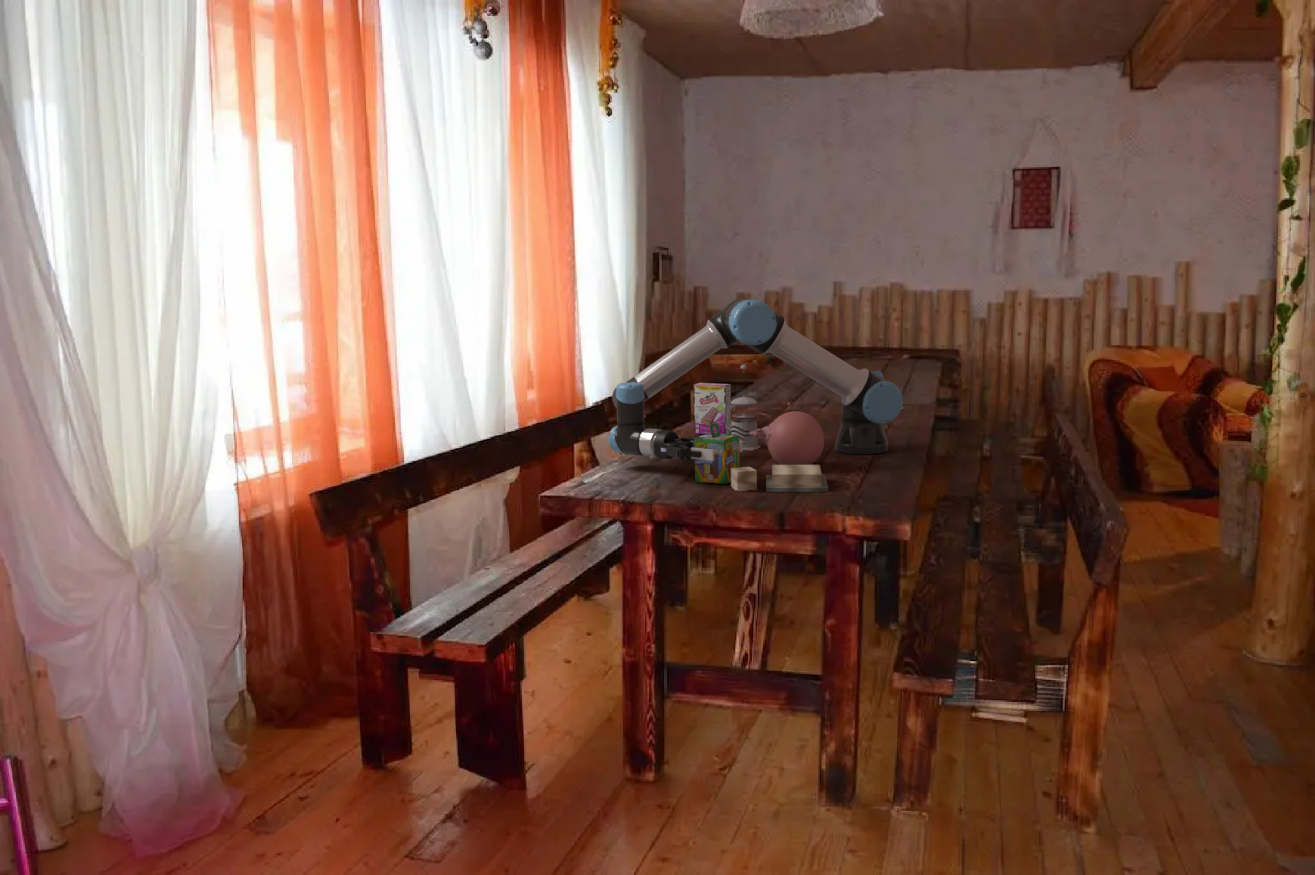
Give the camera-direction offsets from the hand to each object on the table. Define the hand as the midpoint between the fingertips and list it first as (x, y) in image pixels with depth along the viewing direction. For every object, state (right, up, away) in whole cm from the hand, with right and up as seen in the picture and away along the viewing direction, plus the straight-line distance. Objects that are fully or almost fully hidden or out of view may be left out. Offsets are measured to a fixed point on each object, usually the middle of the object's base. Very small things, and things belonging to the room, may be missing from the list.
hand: (728, 451), depth 273 cm
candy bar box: (0, +4, +72) cm, 73 cm away
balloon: (+17, -5, +17) cm, 25 cm away
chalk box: (-2, -8, +3) cm, 9 cm away
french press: (+7, 0, +49) cm, 49 cm away
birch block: (+3, -9, -7) cm, 12 cm away
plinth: (+17, -9, -5) cm, 19 cm away
